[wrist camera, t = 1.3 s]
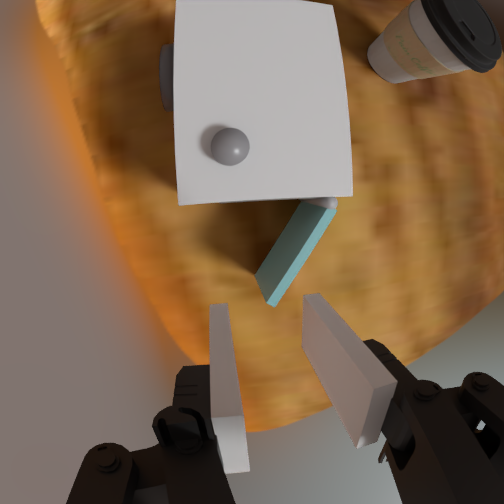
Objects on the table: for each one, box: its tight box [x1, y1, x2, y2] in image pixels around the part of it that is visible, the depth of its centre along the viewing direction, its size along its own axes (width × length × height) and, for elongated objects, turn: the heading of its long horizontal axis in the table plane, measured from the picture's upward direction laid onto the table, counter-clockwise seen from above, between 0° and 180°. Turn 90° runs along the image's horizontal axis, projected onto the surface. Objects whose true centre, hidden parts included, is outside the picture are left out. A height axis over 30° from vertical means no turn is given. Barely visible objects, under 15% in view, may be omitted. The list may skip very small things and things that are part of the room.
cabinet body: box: [159, 0, 353, 206], centre depth 21 cm, size 16×13×10 cm
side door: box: [254, 197, 338, 307], centre depth 25 cm, size 10×2×7 cm, turn 148°
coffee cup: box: [367, 0, 502, 83], centre depth 18 cm, size 9×9×15 cm
